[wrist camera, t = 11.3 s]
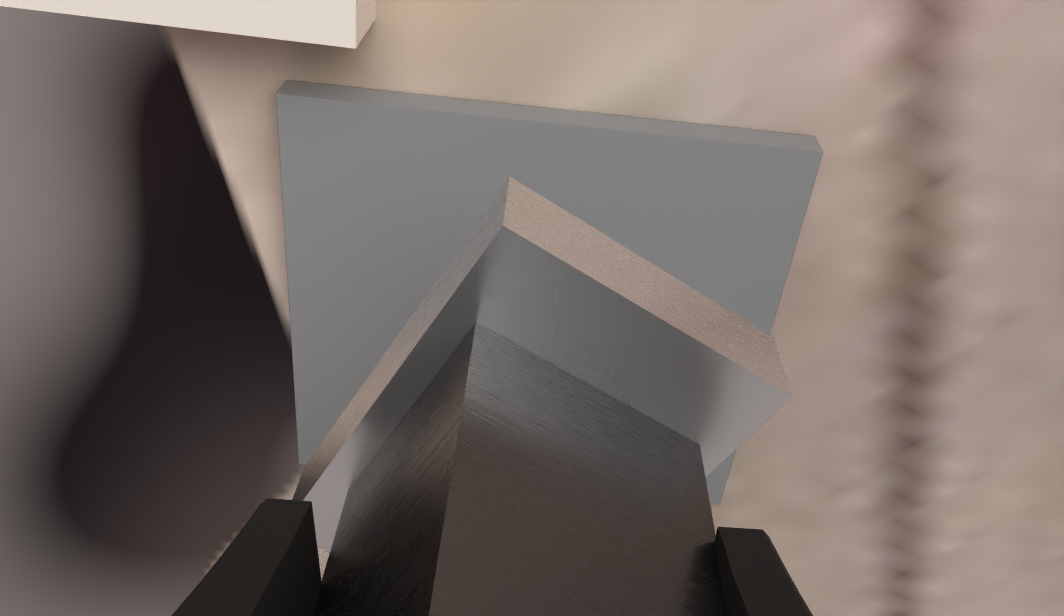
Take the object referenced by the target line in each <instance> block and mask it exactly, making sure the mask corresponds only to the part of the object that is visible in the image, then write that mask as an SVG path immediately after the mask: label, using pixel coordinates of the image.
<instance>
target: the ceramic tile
mask: <svg viewBox="0 0 1064 616" xmlns="http://www.w3.org/2000/svg"><path fill="white" fill-rule="evenodd" d="M0 6H4V7H12V8H21V9H29V10H37V11H46V12H54V13H62V14H71V15H79V16H87V17H96V18H105V19H112V20H121V21H129V22H137V23H146V24H154V25H163V26H171V27H179V28H188V29H196V30H204V31H213V32H221V33H229V34H238V35H246V36H254V37H263V38H271V39H279V40H288V41H296V42H304V43H313V44H321V45H329V46H338V47H346V48H355V49H356V48H357V46H358V45H359V43H360V42H361V40H362V39H363V37H364V36H365V34H366V33H367V31H368V30H369V28H370V27H371V25H372V24H373V22H374V21H375V19H376V0H0Z"/></svg>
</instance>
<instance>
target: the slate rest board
mask: <svg viewBox="0 0 1064 616" xmlns="http://www.w3.org/2000/svg"><path fill="white" fill-rule="evenodd" d="M276 101H277V117H278V133H279V149H280V165H281V181H282V198H283V214H284V230H285V246H286V262H287V278H288V294H289V310H290V326H291V342H292V358H293V373H294V389H295V406H296V421H297V436H298V437H297V438H298V454H299V464H307V463H308V461H309V460H310V458H311V457H312V456H313V454H314V453H315V451H316V450H317V449H318V447H319V446H320V444H321V443H322V441H323V440H324V439H325V437H326V436H327V434H328V433H329V432H330V430H331V429H332V427H333V426H334V424H335V423H336V422H337V420H338V419H339V417H340V416H341V415H342V413H343V412H344V410H345V409H346V407H347V406H348V405H349V403H350V402H351V400H352V399H353V398H354V396H355V395H356V393H357V392H358V390H359V389H360V388H361V386H362V385H363V383H364V382H365V381H366V379H367V378H368V376H369V375H370V373H371V372H372V371H373V369H374V368H375V366H376V365H377V364H378V362H379V361H380V359H381V358H382V356H383V355H384V354H385V352H386V351H387V349H388V348H389V347H390V345H391V344H392V342H393V341H394V339H395V338H396V337H397V335H398V334H399V332H400V331H401V330H402V328H403V327H404V325H405V324H406V323H407V321H408V320H409V318H410V317H411V315H412V314H413V313H414V311H415V310H416V308H417V307H418V306H419V304H420V303H421V301H422V300H423V298H424V297H425V296H426V294H427V293H428V291H429V290H430V289H431V287H432V286H433V284H434V283H435V281H436V280H437V279H438V277H439V276H440V274H441V273H442V272H443V270H444V269H445V267H446V266H447V264H448V263H449V262H450V260H451V259H452V257H453V256H454V255H455V253H456V252H457V250H458V249H459V247H460V246H461V245H462V243H463V242H464V240H465V239H466V238H467V236H468V235H469V233H470V232H471V230H472V229H473V228H474V226H475V225H476V223H477V222H478V221H479V219H480V218H481V216H482V215H483V213H484V212H485V211H486V209H487V208H488V206H489V205H490V204H491V202H492V201H493V199H494V198H495V197H496V195H497V194H498V192H499V191H500V189H501V188H502V187H503V185H504V184H505V182H506V181H507V180H508V178H509V177H511V178H513V179H515V180H516V181H518V182H520V183H521V184H523V185H524V186H526V187H528V188H529V189H531V190H533V191H534V192H536V193H538V194H539V195H541V196H543V197H544V198H546V199H547V200H549V201H551V202H552V203H554V204H556V205H557V206H559V207H561V208H562V209H564V210H565V211H567V212H569V213H570V214H572V215H574V216H575V217H577V218H579V219H580V220H582V221H583V222H585V223H587V224H588V225H590V226H592V227H593V228H595V229H597V230H598V231H600V232H601V233H603V234H605V235H606V236H608V237H610V238H611V239H613V240H615V241H616V242H618V243H620V244H621V245H623V246H624V247H626V248H628V249H629V250H631V251H633V252H634V253H636V254H638V255H639V256H641V257H642V258H644V259H646V260H647V261H649V262H651V263H652V264H654V265H656V266H657V267H659V268H660V269H662V270H664V271H665V272H667V273H669V274H670V275H672V276H674V277H675V278H677V279H678V280H680V281H682V282H683V283H685V284H687V285H688V286H690V287H692V288H693V289H695V290H697V291H698V292H700V293H701V294H703V295H705V296H706V297H708V298H710V299H711V300H713V301H715V302H716V303H718V304H719V305H721V306H723V307H724V308H726V309H728V310H729V311H731V312H733V313H734V314H736V315H737V316H739V317H741V318H742V319H744V320H746V321H747V322H749V323H751V324H752V325H754V326H756V327H757V328H759V329H760V330H762V331H764V332H765V333H767V334H769V335H770V331H771V328H772V325H773V321H774V318H775V314H776V311H777V308H778V304H779V301H780V297H781V294H782V291H783V287H784V284H785V280H786V277H787V274H788V270H789V267H790V263H791V260H792V257H793V253H794V250H795V246H796V243H797V240H798V236H799V233H800V229H801V226H802V222H803V219H804V216H805V212H806V209H807V205H808V202H809V199H810V195H811V192H812V188H813V185H814V182H815V178H816V175H817V171H818V168H819V165H820V161H821V158H822V154H823V150H822V149H821V147H820V145H819V143H818V142H817V140H816V138H815V136H808V135H798V134H789V133H779V132H770V131H760V130H751V129H742V128H732V127H723V126H713V125H704V124H694V123H685V122H676V121H666V120H657V119H647V118H638V117H628V116H619V115H609V114H600V113H591V112H581V111H572V110H562V109H553V108H543V107H534V106H525V105H515V104H506V103H496V102H487V101H477V100H468V99H459V98H449V97H440V96H430V95H421V94H411V93H402V92H392V91H383V90H374V89H364V88H355V87H345V86H336V85H326V84H317V83H308V82H298V81H289V80H287V81H286V82H285V83H284V84H283V86H282V87H281V88H280V90H279V91H278V92H277V93H276ZM735 451H736V449H735V450H734V451H733V452H732V453H731V454H730V455H729V456H728V457H727V458H726V459H725V460H724V461H723V462H721V463H720V464H719V465H718V466H717V467H716V468H715V469H714V470H713V471H712V472H711V473H710V474H709V475H708V476H707V477H706V483H707V489H708V495H709V501H710V504H714V505H720V502H721V498H722V495H723V491H724V488H725V485H726V481H727V478H728V474H729V471H730V468H731V464H732V461H733V457H734V454H735Z"/></svg>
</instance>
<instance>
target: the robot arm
mask: <svg viewBox="0 0 1064 616" xmlns="http://www.w3.org/2000/svg"><path fill="white" fill-rule="evenodd" d="M715 547H716V553H717V559H718V565H719V571H720V577H721V583H722V589H723V595H724V601H725V605H726V609H727V613H728V616H813V615H812V613H811V612H810V610H809V608H808V607H807V605H806V603H805V601H804V600H803V598H802V596H801V595H800V593H799V591H798V589H797V588H796V586H795V584H794V582H793V581H792V579H791V577H790V575H789V573H788V572H787V570H786V568H785V566H784V564H783V562H782V561H781V559H780V557H779V555H778V553H777V551H776V549H775V547H774V545H773V544H772V542H771V540H770V538H769V536H768V535H767V534H766V533H765V532H764V531H763V530H760V529H744V528H728V527H718V528H717V533H716V537H715ZM321 586H322V583H321V574H320V566H319V557H318V549H317V541H316V532H315V524H314V515H313V507H312V501H299V500H283V499H267V500H265V501H264V502H263V503H261V504H260V505H259V507H258V508H257V509H256V511H255V512H254V514H253V515H252V516H251V518H250V519H249V521H248V522H247V523H246V524H245V526H244V527H243V528H242V530H241V531H240V532H239V534H238V535H237V536H236V538H235V539H234V540H233V542H232V543H231V544H230V545H229V547H228V548H227V549H226V551H225V552H224V553H223V554H222V556H221V557H220V558H219V559H218V561H217V562H216V563H215V564H214V566H213V567H212V568H211V569H210V571H209V572H208V573H207V574H206V576H205V577H204V578H203V579H202V581H201V582H200V583H199V584H198V585H197V586H196V588H195V589H194V590H193V591H192V592H191V594H190V595H189V596H188V597H187V598H186V599H185V601H184V602H183V603H182V604H181V605H180V606H179V608H178V609H177V610H176V611H175V612H174V614H173V615H172V616H313V613H314V610H315V607H316V603H317V600H318V596H319V593H320V589H321Z"/></svg>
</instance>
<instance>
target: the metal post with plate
mask: <svg viewBox="0 0 1064 616" xmlns="http://www.w3.org/2000/svg"><path fill="white" fill-rule="evenodd" d="M791 397H792V395H791V392H790V389H789V386H788V382H787V379H786V376H785V373H784V370H783V367H782V364H781V360H780V357H779V354H778V351H777V348H776V345H775V341H774V338H773V337H772V336H770V335H769V334H767V333H765V332H764V331H762V330H760V329H759V328H757V327H756V326H754V325H752V324H751V323H749V322H747V321H746V320H744V319H742V318H741V317H739V316H737V315H736V314H734V313H733V312H731V311H729V310H728V309H726V308H724V307H723V306H721V305H719V304H718V303H716V302H715V301H713V300H711V299H710V298H708V297H706V296H705V295H703V294H701V293H700V292H698V291H697V290H695V289H693V288H692V287H690V286H688V285H687V284H685V283H683V282H682V281H680V280H678V279H677V278H675V277H674V276H672V275H670V274H669V273H667V272H665V271H664V270H662V269H660V268H659V267H657V266H656V265H654V264H652V263H651V262H649V261H647V260H646V259H644V258H642V257H641V256H639V255H638V254H636V253H634V252H633V251H631V250H629V249H628V248H626V247H624V246H623V245H621V244H620V243H618V242H616V241H615V240H613V239H611V238H610V237H608V236H606V235H605V234H603V233H601V232H600V231H598V230H597V229H595V228H593V227H592V226H590V225H588V224H587V223H585V222H583V221H582V220H580V219H579V218H577V217H575V216H574V215H572V214H570V213H569V212H567V211H565V210H564V209H562V208H561V207H559V206H557V205H556V204H554V203H552V202H551V201H549V200H547V199H546V198H544V197H543V196H541V195H539V194H538V193H536V192H534V191H533V190H531V189H529V188H528V187H526V186H524V185H523V184H521V183H520V182H518V181H516V180H515V179H513V178H511V177H509V178H508V180H507V181H506V182H505V184H504V185H503V187H502V188H501V189H500V191H499V192H498V194H497V195H496V197H495V198H494V199H493V201H492V202H491V204H490V205H489V206H488V208H487V209H486V211H485V212H484V213H483V215H482V216H481V218H480V219H479V221H478V222H477V223H476V225H475V226H474V228H473V229H472V230H471V232H470V233H469V235H468V236H467V238H466V239H465V240H464V242H463V243H462V245H461V246H460V247H459V249H458V250H457V252H456V253H455V255H454V256H453V257H452V259H451V260H450V262H449V263H448V264H447V266H446V267H445V269H444V270H443V272H442V273H441V274H440V276H439V277H438V279H437V280H436V281H435V283H434V284H433V286H432V287H431V289H430V290H429V291H428V293H427V294H426V296H425V297H424V298H423V300H422V301H421V303H420V304H419V306H418V307H417V308H416V310H415V311H414V313H413V314H412V315H411V317H410V318H409V320H408V321H407V323H406V324H405V325H404V327H403V328H402V330H401V331H400V332H399V334H398V335H397V337H396V338H395V339H394V341H393V342H392V344H391V345H390V347H389V348H388V349H387V351H386V352H385V354H384V355H383V356H382V358H381V359H380V361H379V362H378V364H377V365H376V366H375V368H374V369H373V371H372V372H371V373H370V375H369V376H368V378H367V379H366V381H365V382H364V383H363V385H362V386H361V388H360V389H359V390H358V392H357V393H356V395H355V396H354V398H353V399H352V400H351V402H350V403H349V405H348V406H347V407H346V409H345V410H344V412H343V413H342V415H341V416H340V417H339V419H338V420H337V422H336V423H335V424H334V426H333V427H332V429H331V430H330V432H329V433H328V434H327V436H326V437H325V439H324V440H323V441H322V443H321V444H320V446H319V447H318V449H317V450H316V451H315V453H314V454H313V456H312V457H311V458H310V460H309V461H308V463H307V464H306V465H305V467H304V469H303V471H302V474H301V477H300V480H299V482H298V485H297V488H296V491H295V494H294V496H293V499H292V500H299V501H312V507H313V515H314V524H315V532H316V541H317V546H318V547H320V548H322V549H324V550H327V551H329V552H330V554H329V558H328V561H327V564H326V568H325V571H324V575H323V578H322V582H321V583H322V586H321V589H320V593H319V596H318V600H317V603H316V607H315V610H314V613H313V616H728V613H727V609H726V605H725V601H724V595H723V589H722V583H721V577H720V571H719V565H718V559H717V553H716V547H715V537H716V536H715V530H714V524H713V518H712V513H711V507H710V501H709V495H708V489H707V483H706V477H707V476H708V475H709V474H710V473H711V472H712V471H713V470H714V469H715V468H716V467H717V466H718V465H719V464H720V463H721V462H723V461H724V460H725V459H726V458H727V457H728V456H729V455H730V454H731V453H732V452H733V451H734V450H735V449H736V448H737V447H738V446H740V445H741V444H742V443H743V442H744V441H745V440H746V439H747V438H748V437H749V436H750V435H751V434H752V433H753V432H754V431H755V430H757V429H758V428H759V427H760V426H761V425H762V424H763V423H764V422H765V421H766V420H767V419H768V418H769V417H770V416H771V415H773V414H774V413H775V412H776V411H777V410H778V409H779V408H780V407H781V406H782V405H783V404H784V403H785V402H786V401H787V400H788V399H790V398H791Z"/></svg>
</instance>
